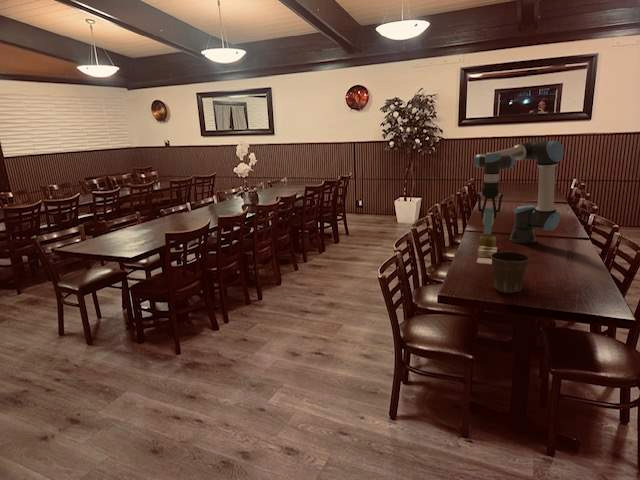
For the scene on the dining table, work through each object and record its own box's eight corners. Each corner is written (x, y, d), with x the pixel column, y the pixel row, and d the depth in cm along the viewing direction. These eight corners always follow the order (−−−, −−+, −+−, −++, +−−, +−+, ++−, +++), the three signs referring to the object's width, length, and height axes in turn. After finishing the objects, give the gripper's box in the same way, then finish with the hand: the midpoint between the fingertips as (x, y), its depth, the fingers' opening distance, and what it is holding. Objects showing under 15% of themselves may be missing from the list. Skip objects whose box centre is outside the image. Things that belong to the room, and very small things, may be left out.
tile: (494, 260, 239) (494, 259, 238) (493, 264, 231) (493, 263, 231) (478, 258, 242) (478, 257, 242) (476, 263, 234) (476, 262, 234)
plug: (491, 232, 233) (493, 207, 230) (491, 234, 230) (493, 209, 226) (483, 231, 235) (485, 207, 232) (482, 233, 231) (484, 208, 228)
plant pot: (488, 293, 193) (490, 260, 189) (488, 281, 207) (490, 250, 203) (527, 297, 187) (530, 262, 183) (524, 284, 202) (527, 252, 197)
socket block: (496, 253, 250) (497, 247, 249) (495, 258, 241) (496, 251, 240) (479, 252, 254) (479, 245, 253) (477, 256, 245) (478, 250, 244)
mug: (488, 250, 249) (488, 234, 251) (475, 252, 259) (475, 236, 260) (503, 251, 255) (502, 235, 256) (490, 252, 264) (489, 237, 265)
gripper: (473, 182, 225) (471, 224, 231) (508, 182, 218) (504, 226, 224) (475, 180, 232) (472, 221, 238) (508, 181, 225) (504, 223, 231)
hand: (488, 223), depth 231 cm, fingers closed on plug, 4 cm apart
